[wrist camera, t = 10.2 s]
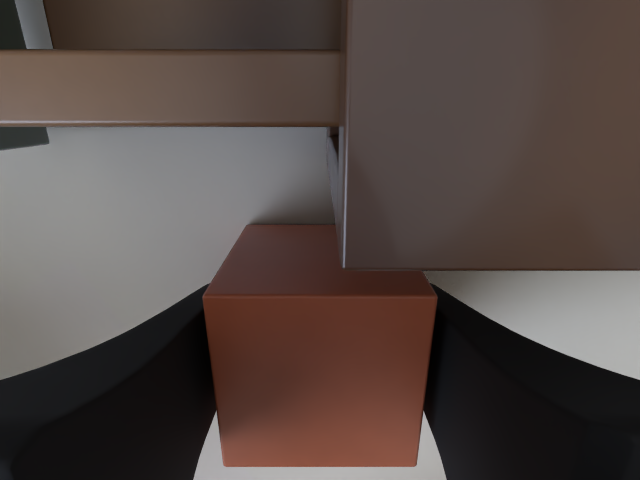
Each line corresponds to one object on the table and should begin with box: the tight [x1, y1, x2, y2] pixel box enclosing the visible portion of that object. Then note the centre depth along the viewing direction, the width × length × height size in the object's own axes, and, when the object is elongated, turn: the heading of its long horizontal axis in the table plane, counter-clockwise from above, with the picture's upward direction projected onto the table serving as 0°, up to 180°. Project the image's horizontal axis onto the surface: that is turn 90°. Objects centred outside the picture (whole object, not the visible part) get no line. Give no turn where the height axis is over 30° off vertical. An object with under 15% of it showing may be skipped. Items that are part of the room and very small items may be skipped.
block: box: [202, 225, 438, 467], centre depth 10 cm, size 5×5×5 cm
